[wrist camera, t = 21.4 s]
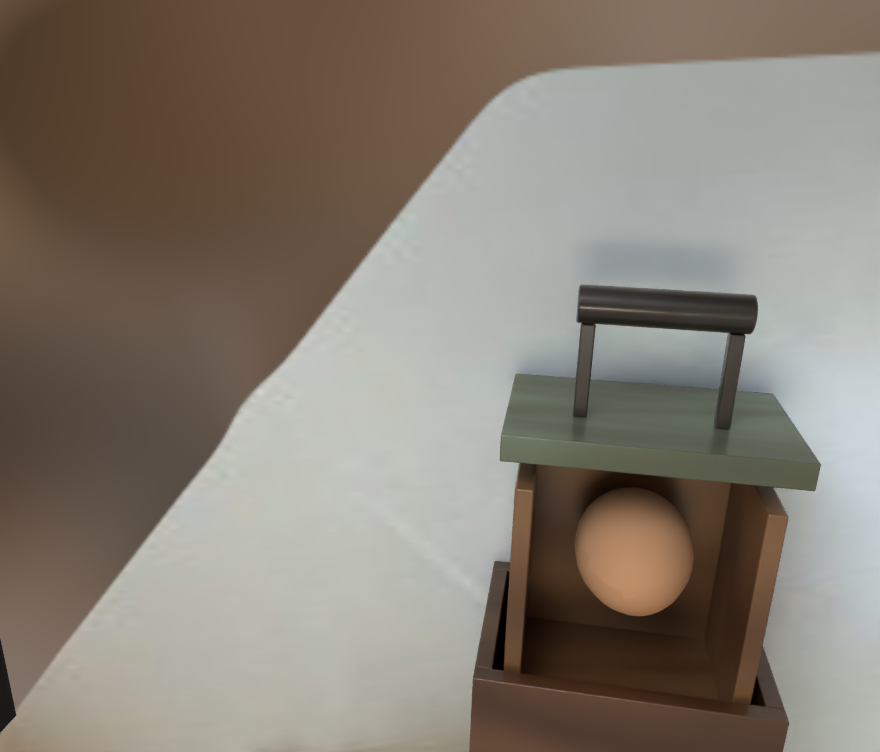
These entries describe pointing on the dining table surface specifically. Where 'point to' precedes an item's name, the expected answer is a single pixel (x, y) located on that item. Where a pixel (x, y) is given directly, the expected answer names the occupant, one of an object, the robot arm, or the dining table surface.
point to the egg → (634, 551)
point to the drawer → (666, 473)
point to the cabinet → (606, 707)
